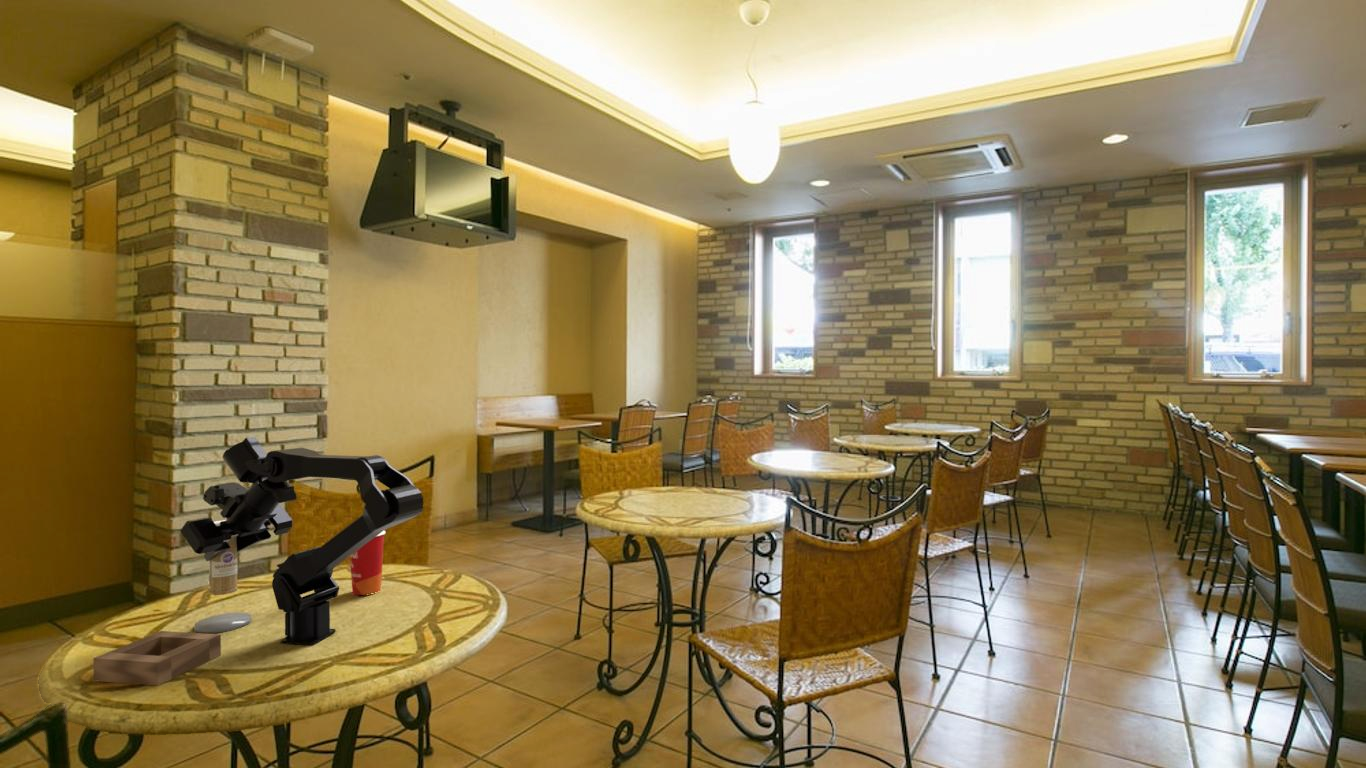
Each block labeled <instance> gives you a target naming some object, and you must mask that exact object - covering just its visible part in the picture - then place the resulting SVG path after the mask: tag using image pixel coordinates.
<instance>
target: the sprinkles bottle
mask: <svg viewBox="0 0 1366 768" xmlns="http://www.w3.org/2000/svg"><path fill="white" fill-rule="evenodd" d="M226 520H227V519H224V520H223V519H222V520H216V521H213V522H214V523H215V525H216V526H220V524H219V523H220V522H222V521H226ZM227 543H228V544H229V546H230V548H229V549H228V550H226V551H224V552H223V553H221V554H220V555H218V556H216V557H215V558H213V559H211V560H210V561H208V562H209V565H208V566H209V578H210V579H209V582H210V583H209V585H210V586H209V587H210V589H209V594H210V595H211V596H212V595H213V596H224V595H228V594H233V593H234V592H235V593H236V591H238V589H239V586H238V552H237V540H236V536H232V537H231V539H230V540H229V541H228V542H227Z"/></svg>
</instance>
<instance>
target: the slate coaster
mask: <svg viewBox="0 0 1366 768" xmlns="http://www.w3.org/2000/svg"><path fill="white" fill-rule="evenodd" d="M251 622H252V614H251V613H248V612H243V611H242V612H226V613H221V614H220V613H219V614H215V615H211V616H209V617H205V618H202V619H200V620H198V621H196V622H195V623H194V626H193V627H194V633H202V634H218V633H225V632H229V631H233V630H237V629H241V628H242V627H245V626H247V625H249V624H250V623H251Z"/></svg>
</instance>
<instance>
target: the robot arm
mask: <svg viewBox="0 0 1366 768" xmlns="http://www.w3.org/2000/svg"><path fill="white" fill-rule="evenodd" d="M222 459H223V461H224V463H225V464H226V465H227V466H228V468H229V469H230V470H231V472H232V473H233V475H234V476H235V477H236V478H237V480H238V481H239V482H240V483H249V484H251V485H250V486H249V488H246V487H245V486H243V485H241V484H240V483H239V482H235V481H234V482H232V481H231V482H226V483H225V482H224V483H220V484H219V483H218V484H215V485H211V486H209V487H208V488H206V490H205V491H204V493H203V496H202V499H203V501H204V502H205V503H207V504H208V505H210V506H216V507H218V508H219V509H221V511H220V512H219V515H221V517H222V518H223V519H225V520H226V521H222V520H221V521H222V522H220V523H219V524H220V526H216V525H215V523H214V522H215V521H214V520H213V519H212V517H206V516H205V517H201V518H195V519H191V520H190V519H189V520H187V521H185V523H184V524H183V525H182V527H181V528H180V533H181V534H182V536H183V537H184V539H185V540H186V542H187V543H188V545H189V546H190V547H191V549H192V550H193V552H194V553H195V554H198V555H202V554H204V555H203V556H204V559H205V561H206V562H209V561H210V560H211V559H213V558H215V557H216V556H218V555H220V554H221V553H223V552H224V551H226V550H228V549H229V548H230V546H229V544H228V543H227V542H228V541H229V540H230V539H231V537H232V536H236V540H237V553H240V552H241V551H243V550H247V549H248V548H250V547H253V546H255V545H256V544H259V543H261V542H264V541H266V540H269V539H271V537H272V534H271V533H270V531H269V530H270V527H271V525H273V527H274V530H273V531H272V532H273V534H274V535H275V536H280V535H284V534H287V533H289V531H290V530H292V528H293V523H294V522H293V519H292V517H291V516H290V515H289V514H288V512H287V511H286V509H284V507H283V506H282V504H283V503H287V502H293V501H296V500H297V493H296V492H295V486H294V485H291V484H290V483H289V482H290V481H294V480H301V479H306V478H322V479H323V478H324V479H326V478H329V479H347V480H351V479H352V480H355V481H356V482H357V484H358V486H359V487H358V489H359V494H360V499H361V500H362V502H363V503H364V507H363V510H362V514H361V515H360V516H359V517H357V518H356V519H355V520H354V521H352V522H351V523H350V524H348V525H347V526H346V527H344V528H343V529H342V530H340V531H339V532H338V533H337V534H336V535H334V536H332V538H330V539H329V540H327V541H326V542H325V543H324V544H322V545H321V546H316V547H313V548H310V549H309V548H308V549H307V550H302V551H299V552H295V553H292V554H291V555H289V556H288V557H287V558H286V559H285V560H284V562H282V563H278V564H277V565H276V567H277V569H276V570H275V571H274V573H273V574H272V578H273V579H272V581H271V586H272V591H273V594H274V598H275V601H276V605H277V609H278V610H281V611H283V612H284V633H285V635H284V636H285V637H282V638H280V641H279V642H280V643H281V644H297V645H314V644H316V643H319V642H320V641H322V640H323V639H325V638H327V637H329V636H330V635H333V634H335V633H336V628H331V625H330V624H331V622H330V621H331V620H330V619H331V617H330V616H331V613H330V612H331V607H330V606H331V605H330V604H331V602H330V600H332V599H336V598H338V594H339V591H340V586H339V584H338V583H337V582H336V581H335V579H334V578H333V577H332V575H333V573H334V572H333V571H334V568H336V567H337V566H338V565H340V564H341V563H342V562H344V561H345V560H346V559H348V558H350V555H352V554H353V553H354V552H356V551H357V550H358V549H360V548H361V547H362V546H364V545H365V544H366V543H368V542H369V541H370V540H372V539H373V538H374V537H376V536H377V535H378V534H380V533H381V532H382V531H386V530H387V529H389V528H392V527H395V526H397V525H399V524H402V523H405V522H407V521H410V520H411V519H413V518H416V517H417V516H419V515H420V514H421V513H422V512H423V510H424V504H425V503H424V496H423V494H422V491H421V490H420V489H419V488H418V487H416V486H415V485H414V483H413V482H412V480H410V478H409V477H408V476H407V475H405V474H403V473H402V472H400V471H399V470H398V469H396V468H394V467H393V466H391V465H390V463H389V462H388V460H387V459H386V458H384V456H381V455H377V454H375V455H370V456H369V455H368V456H367V455H366V456H365V455H336V454H334V455H333V454H332V455H331V454H330V455H329V454H321V453H318V452H317V451H316V450H313V449H308V448H305V447H295V448H285V449H277V450H271V451H269V452H266V451H265V450H264V448H263V447H262V446H261V444H260V441H259V440H258V439H257V438H256V437H244V438H243V441H241V442H238V443H236V444H234V445H232V446H231V447H229V448H227V449H226V450H225V451H224V453H223V454H222ZM376 480H377V481H378V482H379V483H381V484H382V485H384V486H386V487H387V488H386V489H380V488H379V486H378V485H377V484H376ZM288 481H289V482H288ZM309 592H310V594H307V593H309ZM311 592H312V593H311ZM304 594H307V595H304ZM301 595H304V596H301Z"/></svg>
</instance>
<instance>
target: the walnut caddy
mask: <svg viewBox="0 0 1366 768" xmlns="http://www.w3.org/2000/svg"><path fill="white" fill-rule="evenodd" d="M221 640H222V635H221V634H218V633H198V632H184V631H183V632H182V631H170V630H169V631H167V630H161V631H158V632H156V633H153V634H151V635H148V636H145V637H143V638H140V639H138V640H136V641H135V640H134V641H133V642H130V643H127V644H126V645H122V646H120V647H118V648H115V649H113V650H110V651H108V652H105V653H103V654H101V655H97V656H96V657H93V659H92V660H93V681H95V682H105V683H106V682H108V683H117V684H118V683H119V684H132V685H144V686H145V685H147V686H156V687H159V686H160V685H162V684H165V683H166V682H167V683H168V681H170V680H173V679H175V678H177V677H179V676H181V675H184V674H186V673H187V672H190V671H191V670H193V669H196V668H198V667H200V666H202V665H204V664H206V663H208V662H210V661H212V660H214V659H216V658H218V657H220V656H221V655H222V651H221V650H222V648H221V647H222V645H221V644H222V643H221Z"/></svg>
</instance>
